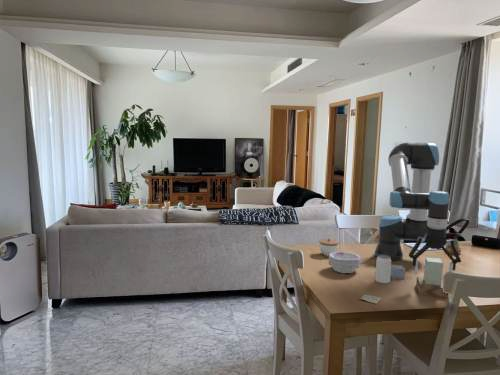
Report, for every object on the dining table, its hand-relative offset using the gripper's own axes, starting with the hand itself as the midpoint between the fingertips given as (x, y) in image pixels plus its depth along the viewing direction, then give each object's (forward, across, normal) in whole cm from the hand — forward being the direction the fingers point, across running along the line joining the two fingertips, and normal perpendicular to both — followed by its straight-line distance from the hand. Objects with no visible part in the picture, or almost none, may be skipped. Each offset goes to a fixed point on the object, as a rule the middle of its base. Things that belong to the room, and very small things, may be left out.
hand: (432, 275), depth 160 cm
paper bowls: (+7, -38, +14) cm, 41 cm away
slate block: (+7, -13, +14) cm, 20 cm away
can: (+7, -20, +5) cm, 22 cm away
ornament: (+7, +22, +68) cm, 72 cm away
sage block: (+3, 0, 0) cm, 3 cm away
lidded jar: (+7, -48, +39) cm, 62 cm away
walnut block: (+7, 0, 0) cm, 7 cm away
